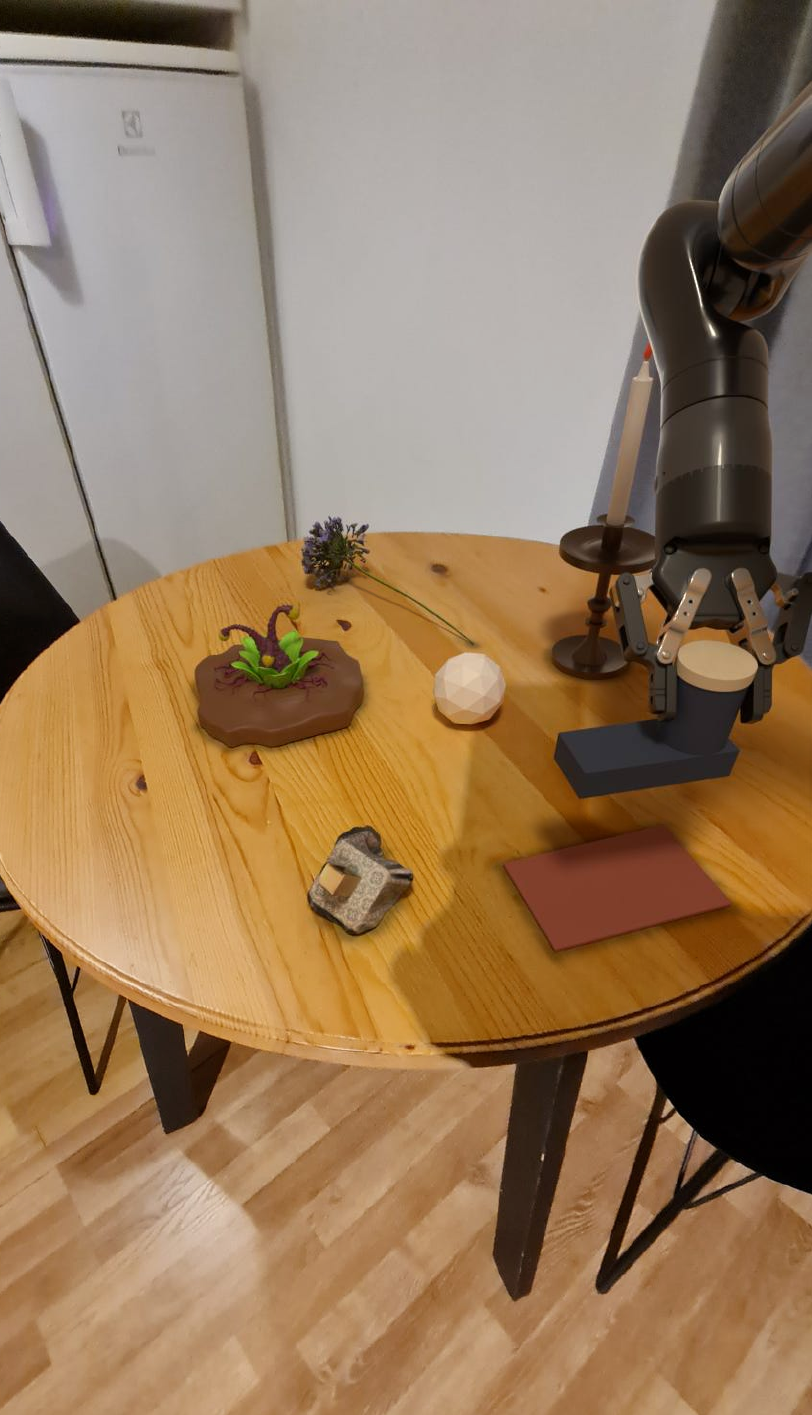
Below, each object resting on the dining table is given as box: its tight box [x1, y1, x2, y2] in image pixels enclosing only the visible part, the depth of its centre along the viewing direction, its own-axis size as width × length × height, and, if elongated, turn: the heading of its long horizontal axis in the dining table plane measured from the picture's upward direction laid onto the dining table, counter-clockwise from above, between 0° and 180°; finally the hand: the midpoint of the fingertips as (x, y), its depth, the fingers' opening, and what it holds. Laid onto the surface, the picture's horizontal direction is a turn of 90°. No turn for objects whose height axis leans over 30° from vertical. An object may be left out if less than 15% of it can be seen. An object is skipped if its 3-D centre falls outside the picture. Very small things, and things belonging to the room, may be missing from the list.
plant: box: [194, 604, 364, 748], centre depth 85 cm, size 20×20×11 cm
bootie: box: [553, 639, 758, 800], centre depth 54 cm, size 12×5×9 cm, turn 101°
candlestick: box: [550, 341, 655, 681], centre depth 80 cm, size 11×11×35 cm
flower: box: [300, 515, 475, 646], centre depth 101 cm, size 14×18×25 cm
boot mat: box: [502, 824, 733, 953], centre depth 64 cm, size 16×10×1 cm, turn 106°
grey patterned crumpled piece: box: [306, 824, 415, 935], centre depth 64 cm, size 8×7×12 cm
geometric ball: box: [432, 651, 507, 725], centre depth 81 cm, size 8×8×8 cm
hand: (709, 720), depth 53 cm, fingers closed on bootie, 5 cm apart
